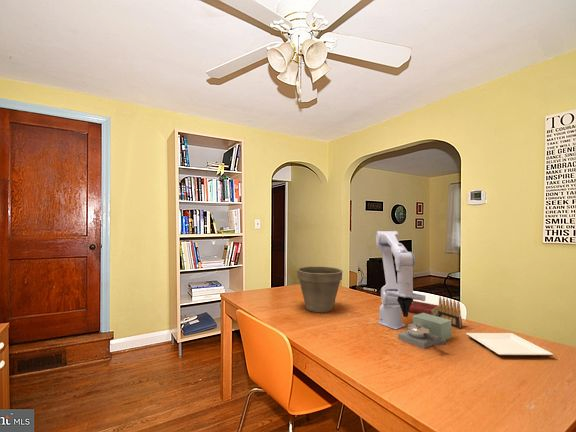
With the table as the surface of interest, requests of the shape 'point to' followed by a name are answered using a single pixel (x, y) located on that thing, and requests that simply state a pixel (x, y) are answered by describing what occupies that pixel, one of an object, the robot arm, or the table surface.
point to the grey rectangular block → (437, 326)
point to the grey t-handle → (423, 333)
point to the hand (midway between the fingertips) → (405, 316)
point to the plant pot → (319, 287)
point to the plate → (508, 344)
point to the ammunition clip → (450, 312)
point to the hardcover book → (423, 308)
